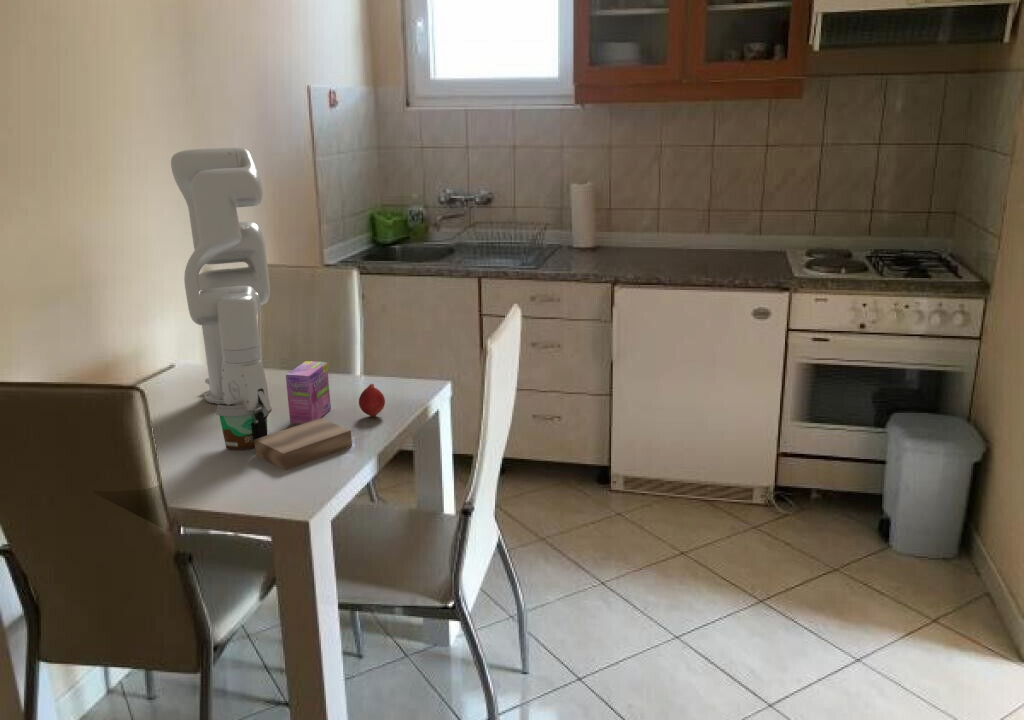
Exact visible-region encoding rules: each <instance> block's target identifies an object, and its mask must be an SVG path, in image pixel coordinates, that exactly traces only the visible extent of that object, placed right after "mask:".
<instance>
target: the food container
mask: <svg viewBox="0 0 1024 720" xmlns="http://www.w3.org/2000/svg"><path fill="white" fill-rule="evenodd" d="M268 398H269V404H270V405H271V400H270V397H269V396H268ZM216 405H217V407H216V410H215V412H216V413H215V414H216V416H219V419H220V420H219V421H220V425H221V429H222V430H221V431H222V435H223V439H224V443H225V444H224V445H225V448H226V449H228V450H236V451H237V450H241V451H242V450H249V449H255V442H254V440H253V435H252V426H251V423H253V420H252V414H253V411H250V412H247V411H245V409H244V407H243V405H238V406H234V405H231V404H230V405H228V404H226V405H224V404H216ZM260 406H261V405H260V403H257V406H256V409H258V408H259V407H260ZM261 410H262V409H259V410H256V411H255V412H256V415H258V413H259V412H260V411H261ZM266 428H267V429H268V419H267V420H266Z"/></svg>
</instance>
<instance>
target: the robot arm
mask: <svg viewBox="0 0 1024 720" xmlns="http://www.w3.org/2000/svg"><path fill="white" fill-rule="evenodd" d="M170 167H171V173H172V176H173V178H174V182H175V183H176V186H177V187H178V189H179V191H180V192H181V195H182V196H183V198H184V200H185V202H186V205H187V208H188V214H189V220H190V221H189V223H190V228H191V236H192V243H193V249H194V250H193V252H192V253H191V255H190V257H189V258H188V260H187V263H186V266H185V269H184V279H183V280H184V290H185V295H186V302H187V307H188V313H189V316H190V318H191V320H192V322H193V323H194V324H196V325H199V326H201V329H202V335H203V342H204V343H203V344H204V349H205V357H206V365H207V374H208V378H205V380H204V383H205V384H207V385H208V386H209V390H208V391H206V392H205V394H204V400H205V401H206V402H208V403H209V404H214V403H215V405H230V404H231V405H234V406H238V405H243V407H244V409H245V411H247V412H250V411H253V414H252V420H253V423H251V426H252V435H253V440H254V439H257V438H261V437H264V436H267V435H268V427H267V428H266V420H267V421H268V416H269V415H270V414H271V412H272V411H273V408H272V406H271V403H270V404H269V400H270V397H269V391H268V383H267V378H266V373H265V369H264V365H263V361H262V351H261V343H260V334H259V325H258V314H259V312H260V310H261V305H265V304H267V303H268V302H269V300H270V298H271V285H270V276H269V269H268V259H267V250H266V245H265V244H266V243H265V237H264V235H263V231H262V229H261V227H260V226H259V225H258V224H257V223H256V222H253V221H246V220H245V221H239V215H238V210H237V209H238V208H246V207H247V208H249V207H255V206H256V207H257V206H259V205H260V204H261V203H262V199H263V193H264V192H263V191H264V190H263V184H262V180H261V175H260V173H259V170H258V167H257V166H256V162H255V160H254V159H253V156H252V154H251V152H250V151H249V150H248V149H246V148H244V147H243V148H242V147H224V148H219V147H217V148H196V149H195V148H194V149H186V150H180V151H178V152H176V153H174V154H173V155H172V157H171V159H170ZM234 263H235V264H236V263H245V264H247V266H246V267H245V266H244V267H233V268H221V269H212V270H206V271H203V272H201V273H200V271H201V269H202V268H203V267H204V266H205V265H223V264H225V265H226V264H234ZM268 397H269V398H268ZM257 403H260V405H261V406H260V407H259V408H258V409H256V406H257ZM259 409H262V410H261V411H260V412H259V413H258V415H256V412H255V411H256V410H259Z"/></svg>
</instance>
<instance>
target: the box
mask: <svg viewBox="0 0 1024 720" xmlns="http://www.w3.org/2000/svg"><path fill="white" fill-rule="evenodd" d="M328 371H329V369H328V362H326V361H314V360H313V361H312V360H311V361H310V360H309V361H308V360H305V361H303V362H302V363H301V364H299V365H298V366H296V367H295V368H294V369H292V370H291V371H290V372H288V373H286V374H285V381H286V382H285V383H286V384H285V385H286V390H287V391H286V393H287V403H288V412H289V423H290V424H291V425H301V424H304V423H307V422H310V421H313V420H316V419H319V418H322V417H323V416H324V415H326V414H327V413H328V412H329V411H330V410H332V405H331V396H330V393H331V392H330V384H329V372H328Z"/></svg>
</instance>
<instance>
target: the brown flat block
mask: <svg viewBox="0 0 1024 720" xmlns="http://www.w3.org/2000/svg"><path fill="white" fill-rule="evenodd" d="M254 442H255V447H254V450H255V456H256V457H258V458H260V459H262V460H264V461H266V462H268V463H270V464H272V465H273V466H276V467H277V468H280V469H282V470H284V471H287V470H290V469H293V468H296V467H298V466H301V465H303V464H304V465H305V464H307V463H309V462H312V460H313V461H315V460H317V459H318V460H319V459H321V458H323V456H324V457H327V456H328V454H329V455H332V454H334V452H335V453H338V452H341V451H343V450H346V449H348V448H347V447H349V448H351V447H350V446H352V447H353V439H352V430H351V429H348V428H346V427H344V426H341V425H339V424H336V423H333V422H331V421H329V420H327V419H324V418H322V417H321V418H319V419H316V420H313V421H310V422H307V423H304V424H301V425H300V424H297V425H295V426H292V427H288V428H286V429H282V430H278V431H276V432H274V433H270V434H267V436H264V437H261V438H257V439H254ZM345 448H346V449H345ZM342 449H343V450H342ZM337 451H338V452H337Z"/></svg>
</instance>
